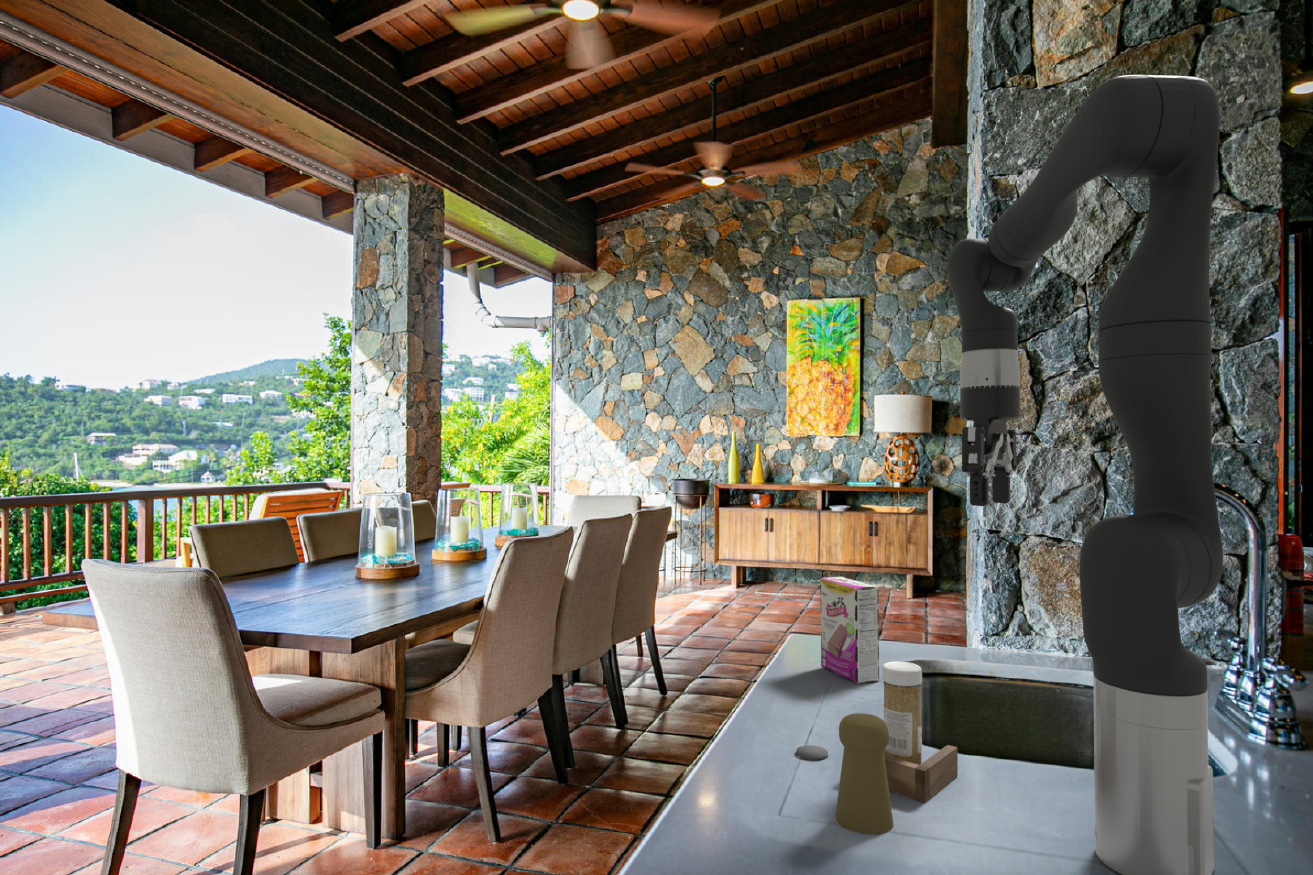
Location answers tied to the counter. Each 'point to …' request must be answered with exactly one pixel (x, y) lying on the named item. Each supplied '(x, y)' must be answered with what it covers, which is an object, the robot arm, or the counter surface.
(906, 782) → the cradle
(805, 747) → the disc
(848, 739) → the cork
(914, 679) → the spice jar
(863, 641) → the candy bar box
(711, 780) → the counter surface
